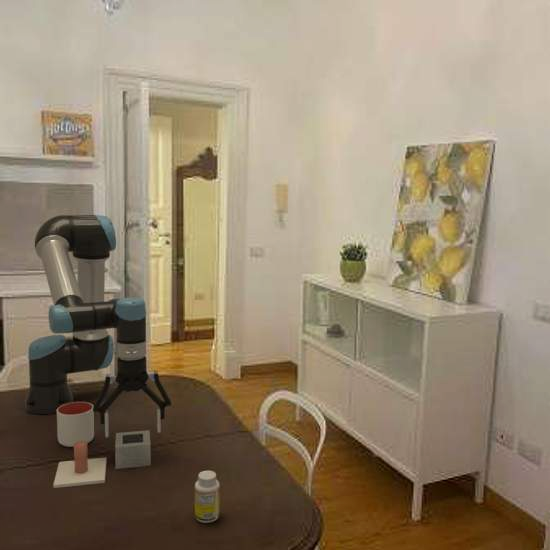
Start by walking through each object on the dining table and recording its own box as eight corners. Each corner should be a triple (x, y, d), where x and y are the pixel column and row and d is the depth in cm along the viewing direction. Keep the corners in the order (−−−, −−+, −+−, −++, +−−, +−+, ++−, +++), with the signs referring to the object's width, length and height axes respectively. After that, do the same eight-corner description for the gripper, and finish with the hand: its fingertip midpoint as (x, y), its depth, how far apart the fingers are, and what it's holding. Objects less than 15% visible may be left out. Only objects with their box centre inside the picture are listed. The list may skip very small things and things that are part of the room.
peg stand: (59, 464, 146) (58, 436, 145) (106, 460, 149) (105, 432, 148) (53, 488, 134) (52, 457, 133) (104, 482, 138) (104, 452, 136)
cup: (82, 450, 154) (81, 416, 153) (50, 446, 156) (49, 413, 155) (100, 435, 164) (99, 403, 162) (70, 431, 166) (69, 400, 164)
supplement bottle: (207, 507, 128) (208, 465, 127) (224, 516, 125) (225, 474, 123) (189, 517, 124) (189, 474, 122) (206, 527, 120) (206, 483, 119)
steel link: (116, 453, 153) (116, 433, 152) (149, 450, 155) (149, 430, 154) (115, 469, 144) (115, 447, 144) (150, 465, 147) (150, 444, 146)
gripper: (80, 363, 139) (83, 443, 142) (180, 357, 145) (181, 434, 148) (83, 355, 146) (85, 431, 149) (178, 350, 152) (178, 423, 155)
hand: (133, 432), depth 148 cm, fingers open, 13 cm apart
